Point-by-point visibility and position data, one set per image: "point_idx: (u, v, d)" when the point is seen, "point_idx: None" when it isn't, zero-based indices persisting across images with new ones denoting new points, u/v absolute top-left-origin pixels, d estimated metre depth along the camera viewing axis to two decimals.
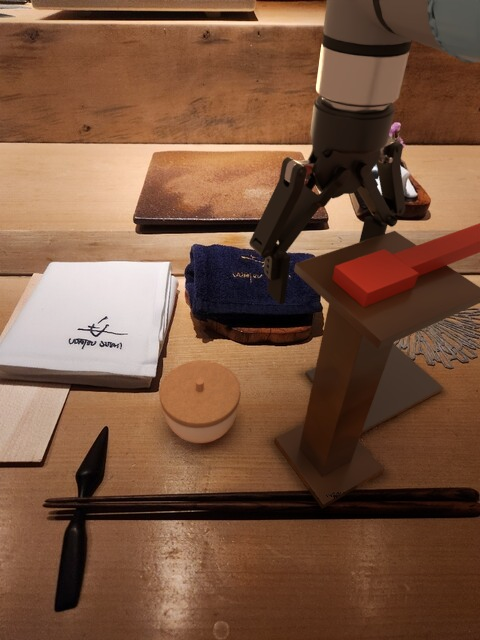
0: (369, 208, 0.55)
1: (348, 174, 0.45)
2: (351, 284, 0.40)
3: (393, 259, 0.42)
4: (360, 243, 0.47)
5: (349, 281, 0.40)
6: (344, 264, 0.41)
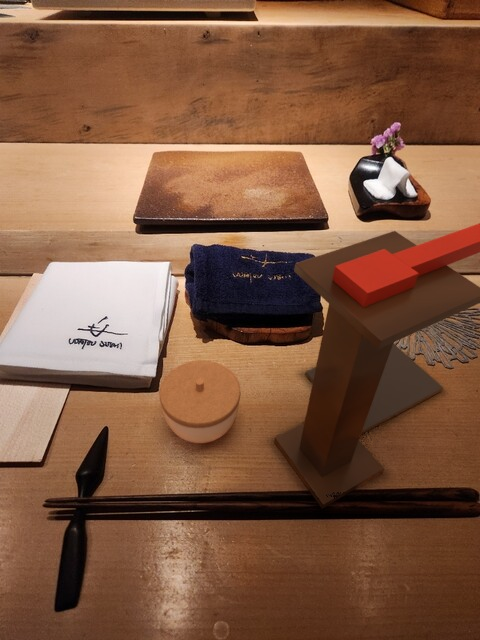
0: None
1: None
2: (351, 284, 0.40)
3: (393, 259, 0.42)
4: (360, 243, 0.47)
5: (349, 281, 0.40)
6: (344, 264, 0.41)
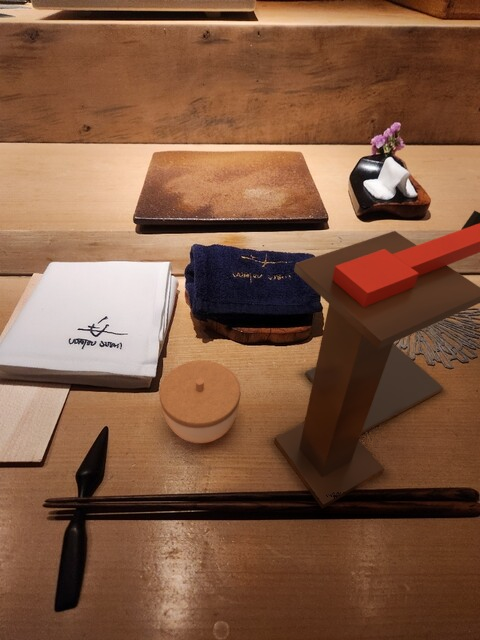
0: None
1: None
2: (351, 284, 0.40)
3: (393, 259, 0.42)
4: (360, 243, 0.47)
5: (349, 281, 0.40)
6: (344, 264, 0.41)
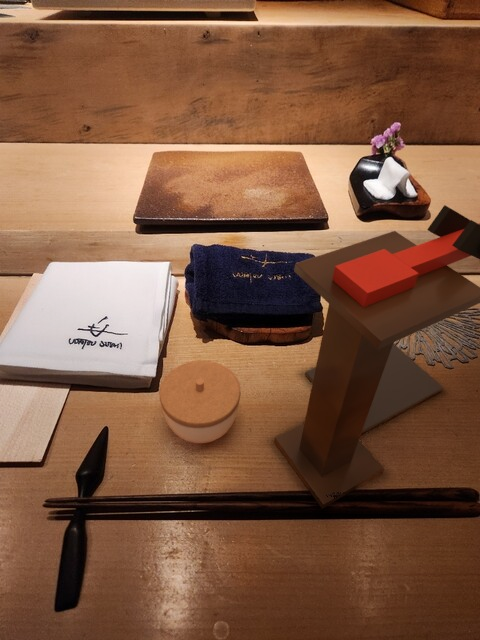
0: None
1: None
2: (351, 284, 0.40)
3: (393, 259, 0.42)
4: (360, 243, 0.47)
5: (349, 281, 0.40)
6: (344, 264, 0.41)
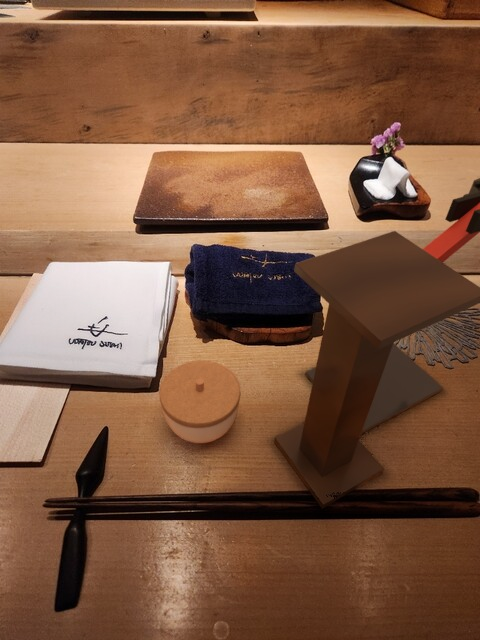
0: None
1: None
2: None
3: None
4: (360, 243, 0.47)
5: None
6: None
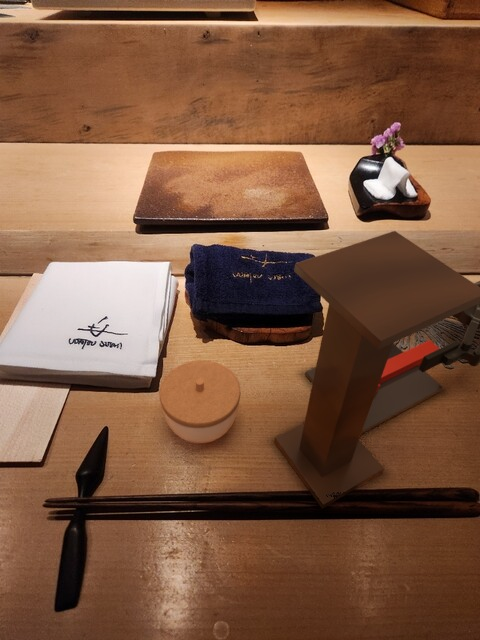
0: None
1: None
2: None
3: None
4: (360, 243, 0.47)
5: None
6: None
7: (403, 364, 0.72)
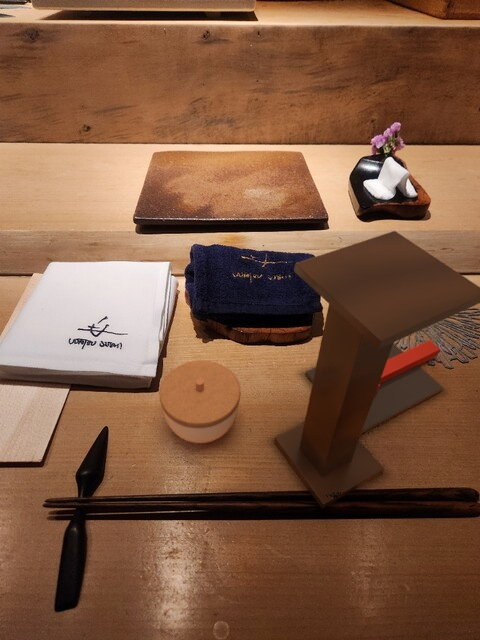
0: None
1: None
2: None
3: None
4: (360, 243, 0.47)
5: None
6: None
7: (403, 364, 0.72)
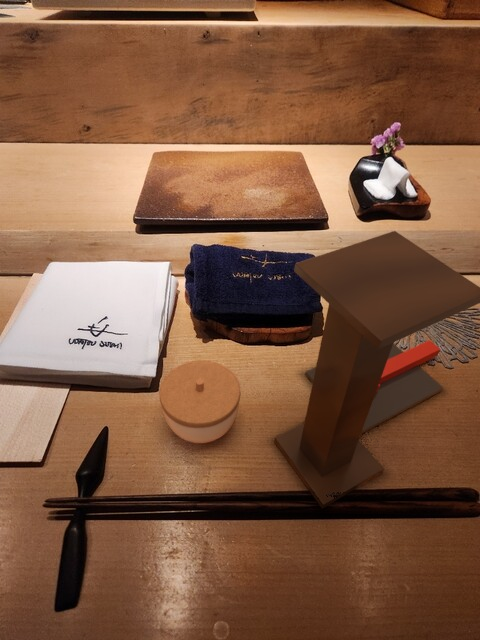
0: None
1: None
2: None
3: None
4: (360, 243, 0.47)
5: None
6: None
7: (403, 364, 0.72)
